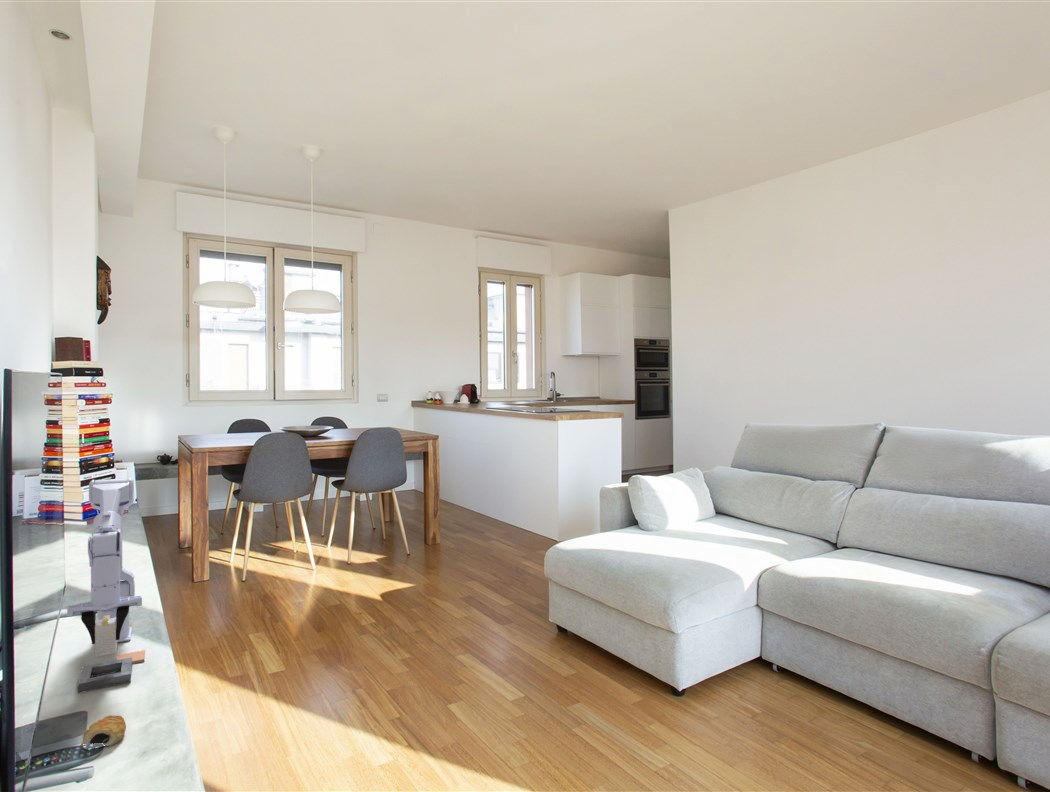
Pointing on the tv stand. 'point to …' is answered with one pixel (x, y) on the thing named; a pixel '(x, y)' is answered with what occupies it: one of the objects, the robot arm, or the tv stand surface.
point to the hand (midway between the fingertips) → (106, 640)
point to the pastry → (105, 731)
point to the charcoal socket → (107, 680)
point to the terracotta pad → (133, 656)
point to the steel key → (105, 636)
